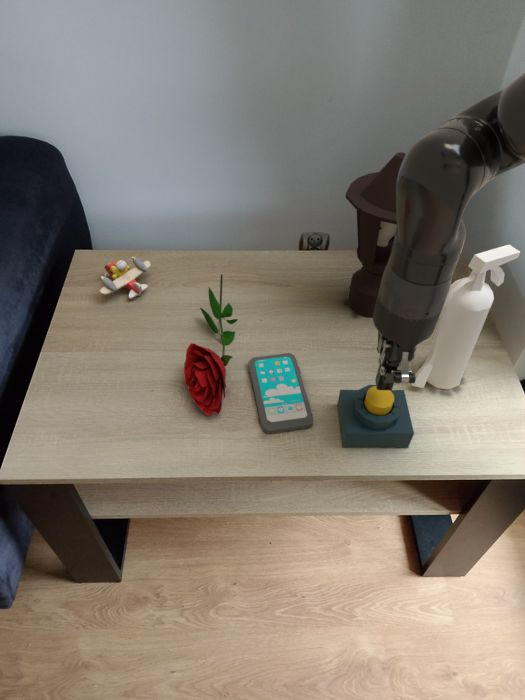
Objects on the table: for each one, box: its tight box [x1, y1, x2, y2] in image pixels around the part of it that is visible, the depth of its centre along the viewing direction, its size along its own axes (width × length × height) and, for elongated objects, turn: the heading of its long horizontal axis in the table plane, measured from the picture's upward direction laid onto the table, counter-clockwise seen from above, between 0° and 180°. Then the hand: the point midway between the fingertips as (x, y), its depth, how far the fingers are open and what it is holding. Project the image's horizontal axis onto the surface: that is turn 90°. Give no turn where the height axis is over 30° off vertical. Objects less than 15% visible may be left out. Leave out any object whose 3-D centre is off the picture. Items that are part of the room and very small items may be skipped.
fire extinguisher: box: [411, 244, 521, 391], centre depth 77 cm, size 7×12×25 cm, turn 116°
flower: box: [183, 274, 238, 417], centre depth 87 cm, size 9×10×30 cm
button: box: [364, 386, 394, 416], centre depth 75 cm, size 4×4×2 cm
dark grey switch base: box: [336, 384, 415, 449], centre depth 77 cm, size 10×8×6 cm
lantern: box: [345, 151, 407, 319], centre depth 87 cm, size 15×15×30 cm
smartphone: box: [248, 352, 314, 434], centre depth 83 cm, size 9×1×15 cm
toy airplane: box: [99, 256, 151, 300], centre depth 98 cm, size 9×9×6 cm
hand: (383, 385), depth 72 cm, fingers closed
